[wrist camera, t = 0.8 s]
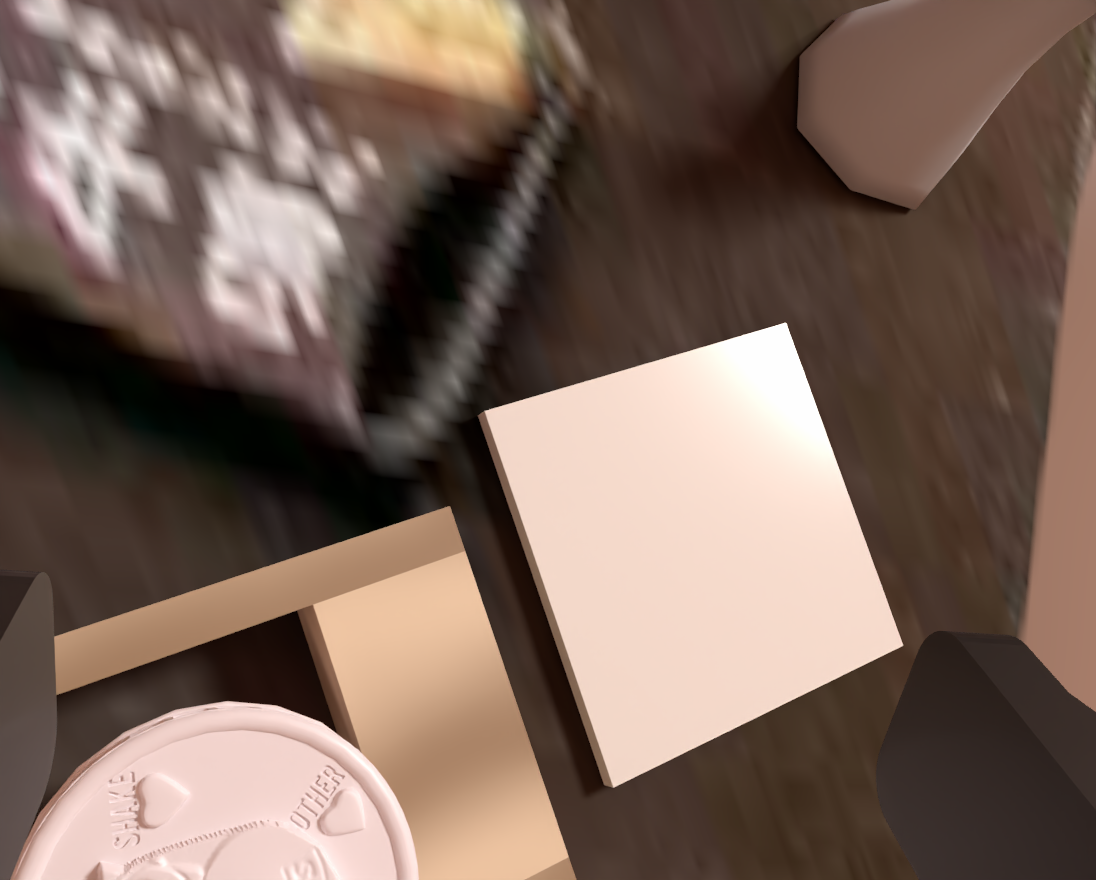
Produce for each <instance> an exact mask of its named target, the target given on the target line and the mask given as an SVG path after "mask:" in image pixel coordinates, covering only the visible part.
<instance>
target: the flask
mask: <svg viewBox="0 0 1096 880" xmlns="http://www.w3.org/2000/svg"><path fill="white" fill-rule="evenodd" d="M1095 13H1096V0H891V1H887V2H884V3H880V4H876V5H873V6H869V7H865V8H862V9H858V10H855V11H852V12H849V13H846V14H843V15H841V16H840V17H839V18H838V19H837V20H836V21H835V22H834V23H833V24H832V25H830V26H829V27H828V28H827V29H826V30H825V31H824V32H823V33H822V34H821V35H820V36H819V37H818V38H817V39H816V40H815V41H814V42H813V43H812V44H811V45H810V46H809V47H808V48H807V49H806V50H805V51H804V52H803V53H802V54H801V55H800V62H799V89H798V116H797V129H798V130H799V131H800V132H801V133H802V134H803V136H804V137H805V138H806V139H807V140H808V141H809V143H810V144H811V145H812V146H813V147H814V148H815V150H816V151H817V152H818V153H819V154H820V155H821V157H822V158H823V159H824V160H825V161H826V162H827V164H828V165H829V166H830V167H831V168H832V169H833V171H834V172H835V173H836V174H837V175H838V176H839V178H840V179H841V180H842V181H843V182H844V183H845V185H846V186H847V187H848V188H849V189H850V190H852V191H855V192H859V193H862V194H865V195H868V196H871V197H875V198H878V199H881V200H884V201H887V202H891V203H894V204H897V205H900V206H904V207H907V208H910V209H913V210H916V208H917V207H918V206H919V205H920V204H921V202H922V201H923V200H924V199H925V198H926V196H927V195H928V194H929V193H930V192H931V190H932V189H933V188H934V187H935V186H936V184H937V183H938V182H939V181H940V180H941V178H942V177H943V176H944V175H945V174H946V172H947V171H948V170H949V169H950V168H951V166H952V165H953V164H954V163H955V161H956V160H957V159H958V158H959V156H960V155H961V154H962V153H963V151H964V150H965V149H966V148H967V146H968V145H969V144H970V142H971V141H972V139H973V138H974V137H975V135H976V134H977V133H978V131H979V130H980V129H981V127H982V126H983V125H984V123H985V122H986V120H987V119H988V118H989V116H990V115H991V114H992V112H993V111H994V110H995V108H996V107H997V106H998V104H999V103H1000V102H1001V101H1002V99H1003V98H1004V97H1005V96H1006V94H1007V93H1008V92H1009V91H1010V89H1011V88H1012V87H1013V86H1014V85H1015V83H1016V82H1017V81H1018V80H1019V78H1020V77H1021V76H1022V75H1023V73H1024V72H1025V71H1026V70H1027V69H1028V68H1029V67H1030V66H1031V65H1032V64H1034V63H1035V62H1036V61H1037V60H1038V59H1039V58H1040V57H1041V56H1042V55H1043V54H1044V53H1045V52H1046V51H1047V50H1049V49H1050V48H1051V47H1052V46H1053V45H1054V44H1055V43H1056V42H1057V41H1058V40H1059V39H1060V38H1061V37H1062V36H1064V35H1065V34H1066V33H1067V32H1068V31H1070V30H1071V29H1073V28H1074V27H1076V26H1077V25H1079V24H1080V23H1082V22H1083V21H1085V20H1086V19H1087V18H1089V17H1090V16H1092V15H1093V14H1095Z"/></svg>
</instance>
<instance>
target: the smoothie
mask: <svg viewBox="0 0 1096 880" xmlns="http://www.w3.org/2000/svg"><path fill="white" fill-rule="evenodd" d="M10 880H419V875H418V864H417V858H416V852H415V847H414V843H413V839H412V835H411V832H410V828H409V826H408V823H407V820H406V818H405V815H404V812H403V810H402V808H401V806H400V804H399V802H398V800H397V798H396V796H395V795H394V793H393V791H392V790H391V788H390V787H389V785H388V783H387V782H386V780H385V779H384V778H383V776H382V775H381V774H380V773H379V771H378V770H377V769H376V768H375V766H374V765H373V764H372V763H371V762H370V761H369V760H368V759H367V758H366V757H365V756H364V755H363V754H362V753H361V752H360V751H359V750H358V749H356V748H355V747H354V746H352V745H351V744H350V743H349V742H347V741H346V740H344V739H343V738H342V737H340V736H339V735H338V734H336V733H335V732H334V731H332V730H331V729H330V728H328V727H327V726H326V725H324V724H323V723H322V722H319V721H316V720H314V719H311V718H309V717H306V716H303V715H301V714H298V713H295V712H293V711H290V710H287V709H285V708H282V707H279V706H276V705H265V704H254V703H243V702H232V701H224V702H219V703H213V704H207V705H201V706H195V707H189V708H183V709H177V710H174V711H171V712H169V713H167V714H165V715H162V716H160V717H158V718H155V719H153V720H151V721H149V722H146V723H144V724H142V725H139V726H137V727H135V728H133V729H130V730H128V731H126V732H124V733H122V734H121V735H120V736H118V737H117V738H116V739H114V740H113V741H112V742H110V743H109V744H108V745H106V746H105V747H104V748H103V749H101V750H100V751H99V752H97V753H96V754H95V755H93V756H92V757H91V758H89V759H88V760H87V761H85V762H84V763H83V764H81V765H80V766H79V767H77V769H76V770H75V771H74V772H73V773H72V775H71V776H70V777H69V778H68V780H67V781H66V782H65V783H64V784H63V786H62V787H61V788H60V789H59V790H58V792H57V793H56V794H55V795H54V796H53V798H52V799H51V800H50V801H49V802H48V804H47V805H46V806H45V807H44V808H43V810H42V811H41V812H40V813H39V815H38V817H37V819H36V821H35V823H34V825H33V827H32V829H31V832H30V834H29V836H28V838H27V840H26V842H25V844H24V846H23V849H22V851H21V854H20V856H19V859H18V861H17V864H16V866H15V869H14V871H13V874H12V876H11V879H10Z"/></svg>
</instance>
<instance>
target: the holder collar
mask: <svg viewBox="0 0 1096 880" xmlns="http://www.w3.org/2000/svg"><path fill="white" fill-rule="evenodd" d="M294 611H297V612H298V615H299V618H300V621H301V624H302V627H303V630H304V633H305V637H306V640H307V643H308V646H309V649H310V652H311V655H312V658H313V661H314V664H315V667H316V670H317V673H318V676H319V679H320V682H321V686H322V689H323V692H324V695H325V698H326V701H327V704H328V707H329V710H330V713H331V716H332V719H333V722H334V725H335V728H336V731H337V734H338V735H339V736H340V737H342V738H343V739H344V740H346V741H347V742H349V743H350V744H351V745H352V746H354V747H355V748H356V749H358V750H359V751H360V752H361V753H362V754H363V755H364V756H365V757H366V758H367V759H368V760H369V761H370V762H371V763H372V764H373V765H374V766H375V768H376V769H377V770H378V771H379V773H380V774H381V775H382V776H383V778H384V779H385V780H386V782H387V783H388V785H389V787H390V788H391V790H392V791H393V793H394V795H395V796H396V798H397V800H398V802H399V804H400V806H401V808H402V810H403V812H404V815H405V818H406V820H407V823H408V826H409V828H410V832H411V835H412V839H413V843H414V847H415V852H416V858H417V864H418V875H419V880H576V877H575V874H574V872H573V869H572V866H571V863H570V860H569V857H568V854H567V851H566V848H565V845H564V842H563V839H562V836H561V833H560V830H559V827H558V824H557V821H556V818H555V815H554V812H553V809H552V806H551V804H550V801H549V798H548V795H547V792H546V789H545V786H544V783H543V780H542V777H541V774H540V771H539V768H538V765H537V762H536V759H535V756H534V753H533V750H532V747H531V744H530V741H529V739H528V736H527V733H526V730H525V727H524V724H523V721H522V718H521V715H520V712H519V709H518V706H517V703H516V700H515V697H514V694H513V691H512V688H511V685H510V682H509V679H508V676H507V674H506V671H505V668H504V665H503V662H502V659H501V656H500V653H499V650H498V647H497V644H496V641H495V638H494V635H493V632H492V629H491V626H490V623H489V620H488V617H487V614H486V611H485V609H484V606H483V603H482V600H481V597H480V594H479V591H478V588H477V585H476V582H475V579H474V576H473V573H472V570H471V567H470V564H469V561H468V558H467V555H466V552H465V549H464V546H463V543H462V541H461V538H460V535H459V532H458V529H457V526H456V523H455V520H454V517H453V514H452V511H451V508H450V506H449V507H446V508H443V509H440V510H437V511H434V512H431V513H428V514H425V515H422V516H419V517H416V518H413V519H409V520H406V521H403V522H400V523H397V524H394V525H391V526H388V527H385V528H382V529H379V530H376V531H373V532H370V533H367V534H364V535H361V536H358V537H355V538H352V539H349V540H346V541H343V542H340V543H337V544H334V545H331V546H328V547H325V548H322V549H319V550H316V551H313V552H310V553H307V554H303V555H300V556H297V557H294V558H291V559H288V560H285V561H282V562H279V563H276V564H273V565H270V566H267V567H264V568H261V569H258V570H255V571H252V572H249V573H246V574H243V575H240V576H237V577H234V578H231V579H228V580H225V581H222V582H219V583H216V584H213V585H210V586H207V587H204V588H201V589H197V590H194V591H191V592H188V593H185V594H182V595H179V596H176V597H173V598H170V599H167V600H164V601H161V602H158V603H155V604H152V605H149V606H146V607H143V608H140V609H137V610H134V611H131V612H128V613H125V614H122V615H119V616H116V617H113V618H110V619H107V620H104V621H101V622H98V623H95V624H91V625H88V626H85V627H82V628H79V629H76V630H73V631H70V632H67V633H64V634H61V635H58V636H55V637H54V644H55V672H56V695H58V694H61V693H64V692H67V691H70V690H72V689H75V688H78V687H81V686H84V685H87V684H89V683H92V682H95V681H98V680H101V679H104V678H106V677H109V676H112V675H115V674H118V673H121V672H123V671H126V670H129V669H132V668H135V667H138V666H140V665H143V664H146V663H149V662H152V661H155V660H157V659H160V658H163V657H166V656H169V655H172V654H174V653H177V652H180V651H183V650H186V649H189V648H192V647H194V646H197V645H200V644H203V643H206V642H209V641H211V640H214V639H217V638H220V637H223V636H226V635H228V634H231V633H234V632H237V631H240V630H243V629H245V628H248V627H251V626H254V625H257V624H260V623H262V622H265V621H268V620H271V619H274V618H277V617H279V616H282V615H285V614H288V613H291V612H294Z"/></svg>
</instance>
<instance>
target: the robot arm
mask: <svg viewBox="0 0 1096 880" xmlns="http://www.w3.org/2000/svg"><path fill="white" fill-rule="evenodd" d="M56 733H57V700H56V672H55V644H54V617H53V594H52V586H51V582H50V579H49V577H48V575H47V574H46V573H43V572H28V571H12V570H0V880H10V879H11V876H12V874H13V871H14V869H15V866H16V864H17V861H18V859H19V856H20V854H21V851H22V849H23V846H24V844H25V841H26V839H27V836H28V834H29V831H30V829H31V826H32V824H33V821H34V819H35V816H36V814H37V811H38V809H39V806H40V804H41V801H42V799H43V796H44V793H45V790H46V787H47V784H48V780H49V776H50V772H51V767H52V762H53V757H54V750H55V743H56ZM876 783H877V792H878V798H879V802H880V806H881V809H882V812H883V815H884V817H885V819H886V821H887V823H888V825H889V827H890V828H891V830H892V832H893V834H894V836H895V837H896V839H897V841H898V843H899V844H900V846H901V848H902V850H903V852H904V853H905V855H906V857H907V859H908V861H909V862H910V864H911V866H912V868H913V870H914V871H915V873H916V875H917V877H918V878H919V880H1096V712H1095V711H1093V710H1092V709H1091V708H1089V707H1088V706H1086V705H1085V704H1084V703H1082V702H1081V701H1080V700H1078V699H1077V698H1075V697H1074V696H1072V695H1071V694H1070V693H1069V692H1067V690H1066V689H1065V688H1064V687H1063V686H1062V685H1061V684H1060V682H1059V681H1058V680H1057V679H1056V678H1055V677H1054V676H1053V675H1052V673H1051V672H1050V671H1049V670H1048V669H1047V668H1046V667H1045V666H1044V665H1043V663H1042V662H1041V661H1040V660H1039V659H1038V658H1037V657H1036V656H1035V655H1034V653H1033V652H1032V651H1031V650H1030V649H1029V648H1028V647H1027V646H1026V645H1025V644H1024V643H1023V642H1022V641H1021V640H1019V639H1018V638H1016V637H1014V636H1010V635H998V634H982V633H966V632H950V631H937V632H934V633H932V634H931V635H929V636H928V637H927V638H926V639H925V640H924V642H923V643H922V645H921V647H920V649H919V651H918V653H917V656H916V658H915V661H914V664H913V666H912V669H911V671H910V674H909V677H908V679H907V682H906V684H905V687H904V690H903V692H902V695H901V697H900V700H899V702H898V705H897V708H896V710H895V713H894V715H893V718H892V721H891V723H890V726H889V728H888V731H887V734H886V736H885V739H884V741H883V744H882V747H881V749H880V753H879V756H878V761H877V770H876Z"/></svg>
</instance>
